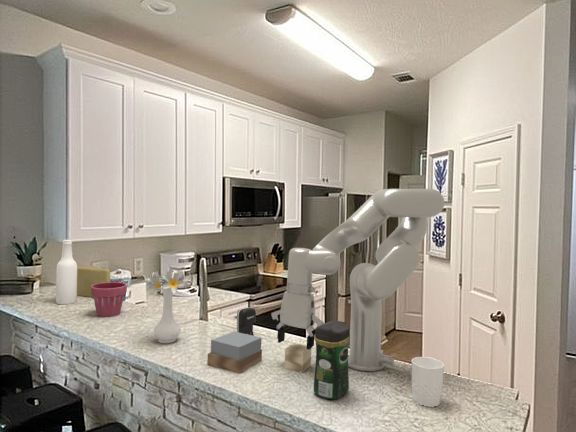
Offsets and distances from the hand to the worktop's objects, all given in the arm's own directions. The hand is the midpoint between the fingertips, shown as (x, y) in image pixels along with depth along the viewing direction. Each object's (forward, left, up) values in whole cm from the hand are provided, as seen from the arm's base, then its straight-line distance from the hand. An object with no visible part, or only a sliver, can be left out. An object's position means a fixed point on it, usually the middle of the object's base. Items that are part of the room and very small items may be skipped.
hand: (295, 344), depth 124 cm
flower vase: (+50, +2, -7) cm, 51 cm away
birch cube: (-1, -1, -7) cm, 7 cm away
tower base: (+17, +6, -7) cm, 20 cm away
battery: (+26, -14, -7) cm, 30 cm away
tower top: (+17, +6, -3) cm, 19 cm away
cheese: (+128, -29, -7) cm, 131 cm away
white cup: (-39, +2, -7) cm, 39 cm away
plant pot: (+95, -11, -7) cm, 96 cm away
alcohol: (+128, -14, -7) cm, 129 cm away
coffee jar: (-16, +10, -7) cm, 20 cm away
